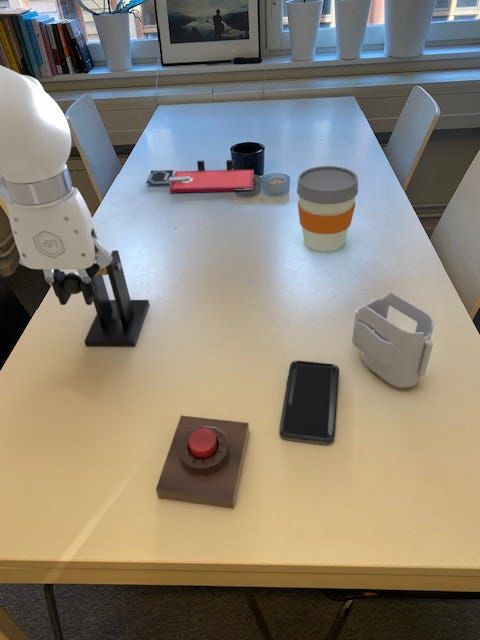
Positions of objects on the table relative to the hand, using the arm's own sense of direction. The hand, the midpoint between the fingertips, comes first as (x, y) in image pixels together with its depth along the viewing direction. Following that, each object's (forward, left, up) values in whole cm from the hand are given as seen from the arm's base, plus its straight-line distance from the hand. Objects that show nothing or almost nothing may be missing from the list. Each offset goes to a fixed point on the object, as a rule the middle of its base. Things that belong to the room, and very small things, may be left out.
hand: (79, 298), depth 74 cm
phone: (+7, -35, -15) cm, 38 cm away
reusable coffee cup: (+52, -21, -15) cm, 58 cm away
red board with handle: (+70, +22, -15) cm, 75 cm away
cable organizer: (+19, -43, -15) cm, 49 cm away
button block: (-9, -26, -15) cm, 31 cm away
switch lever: (+4, +2, -1) cm, 5 cm away
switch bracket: (+10, +4, -15) cm, 18 cm away
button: (-9, -26, -11) cm, 29 cm away
